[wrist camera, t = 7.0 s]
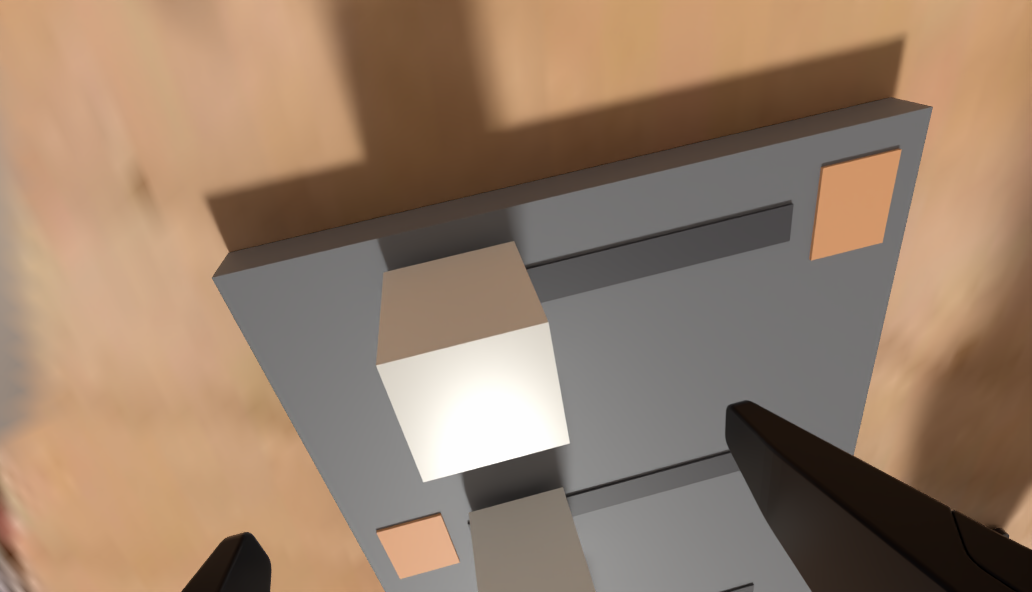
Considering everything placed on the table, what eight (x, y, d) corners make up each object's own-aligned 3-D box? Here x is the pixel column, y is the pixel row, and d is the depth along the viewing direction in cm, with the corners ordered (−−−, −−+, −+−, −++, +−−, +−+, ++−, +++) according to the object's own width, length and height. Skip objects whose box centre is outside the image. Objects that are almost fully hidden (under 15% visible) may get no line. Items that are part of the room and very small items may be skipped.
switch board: (891, 97, 16) (935, 107, 15) (803, 568, 29) (822, 596, 28) (228, 253, 15) (210, 279, 14) (445, 671, 28) (447, 707, 27)
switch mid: (562, 487, 19) (596, 594, 16) (574, 544, 21) (606, 652, 18) (468, 512, 19) (482, 627, 16) (488, 568, 21) (504, 682, 17)
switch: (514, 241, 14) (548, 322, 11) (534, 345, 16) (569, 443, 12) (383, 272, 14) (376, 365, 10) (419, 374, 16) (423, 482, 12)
